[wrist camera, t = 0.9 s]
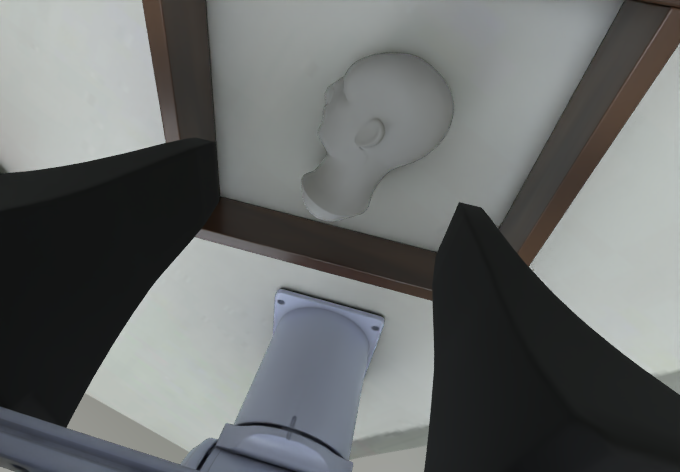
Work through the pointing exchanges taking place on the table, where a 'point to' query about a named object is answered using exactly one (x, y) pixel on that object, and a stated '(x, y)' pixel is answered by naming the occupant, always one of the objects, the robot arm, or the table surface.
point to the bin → (384, 255)
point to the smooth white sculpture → (375, 130)
